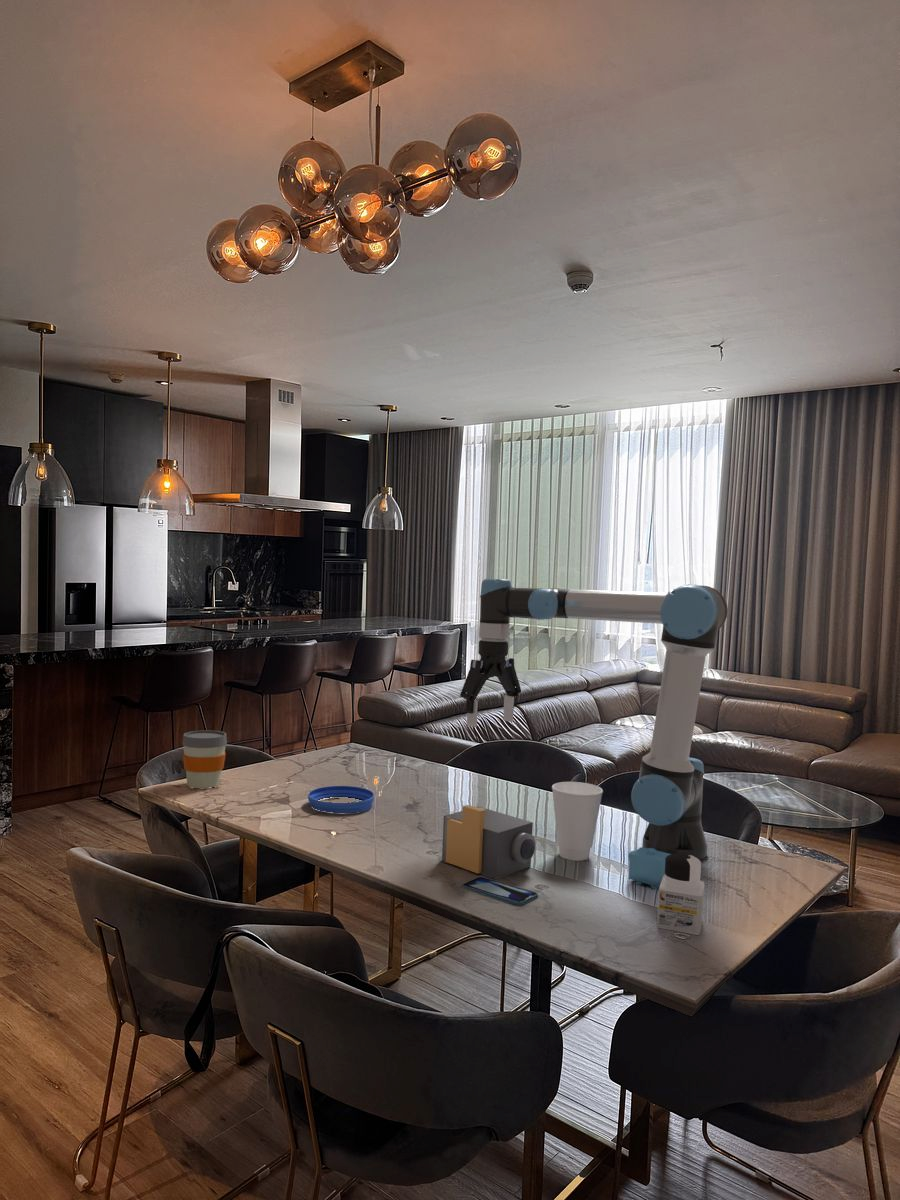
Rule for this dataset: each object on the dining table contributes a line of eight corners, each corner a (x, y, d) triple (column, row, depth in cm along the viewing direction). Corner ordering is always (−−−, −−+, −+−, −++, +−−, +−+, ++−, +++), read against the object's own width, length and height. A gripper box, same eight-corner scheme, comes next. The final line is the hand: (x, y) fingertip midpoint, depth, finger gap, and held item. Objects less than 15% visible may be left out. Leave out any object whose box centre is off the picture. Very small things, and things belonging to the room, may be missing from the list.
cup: (571, 867, 187) (574, 796, 187) (538, 851, 197) (541, 784, 197) (610, 859, 193) (613, 791, 193) (576, 844, 203) (579, 779, 203)
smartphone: (480, 875, 178) (539, 893, 169) (480, 880, 178) (539, 897, 169) (459, 884, 173) (519, 903, 163) (459, 889, 173) (519, 908, 163)
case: (539, 869, 185) (541, 822, 184) (505, 882, 176) (507, 832, 176) (477, 848, 197) (478, 804, 197) (442, 859, 188) (444, 813, 188)
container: (656, 928, 156) (660, 859, 156) (661, 913, 163) (664, 847, 163) (699, 936, 153) (703, 866, 153) (702, 920, 160) (706, 853, 160)
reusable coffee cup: (171, 785, 242) (173, 733, 241) (206, 777, 252) (208, 728, 252) (199, 793, 235) (201, 740, 234) (234, 785, 245) (236, 734, 245)
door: (482, 873, 180) (484, 810, 180) (477, 874, 179) (480, 811, 179) (446, 860, 188) (449, 799, 187) (441, 861, 186) (444, 800, 186)
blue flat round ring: (365, 796, 240) (366, 784, 240) (380, 814, 223) (381, 801, 223) (303, 799, 234) (303, 786, 234) (313, 817, 217) (313, 804, 217)
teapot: (686, 887, 178) (687, 852, 177) (675, 896, 173) (677, 860, 172) (633, 874, 185) (634, 840, 184) (621, 881, 180) (623, 847, 179)
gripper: (514, 637, 222) (511, 717, 222) (448, 639, 204) (444, 726, 205) (536, 639, 216) (533, 721, 217) (470, 642, 199) (466, 730, 199)
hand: (490, 723), depth 211 cm, fingers open, 13 cm apart
